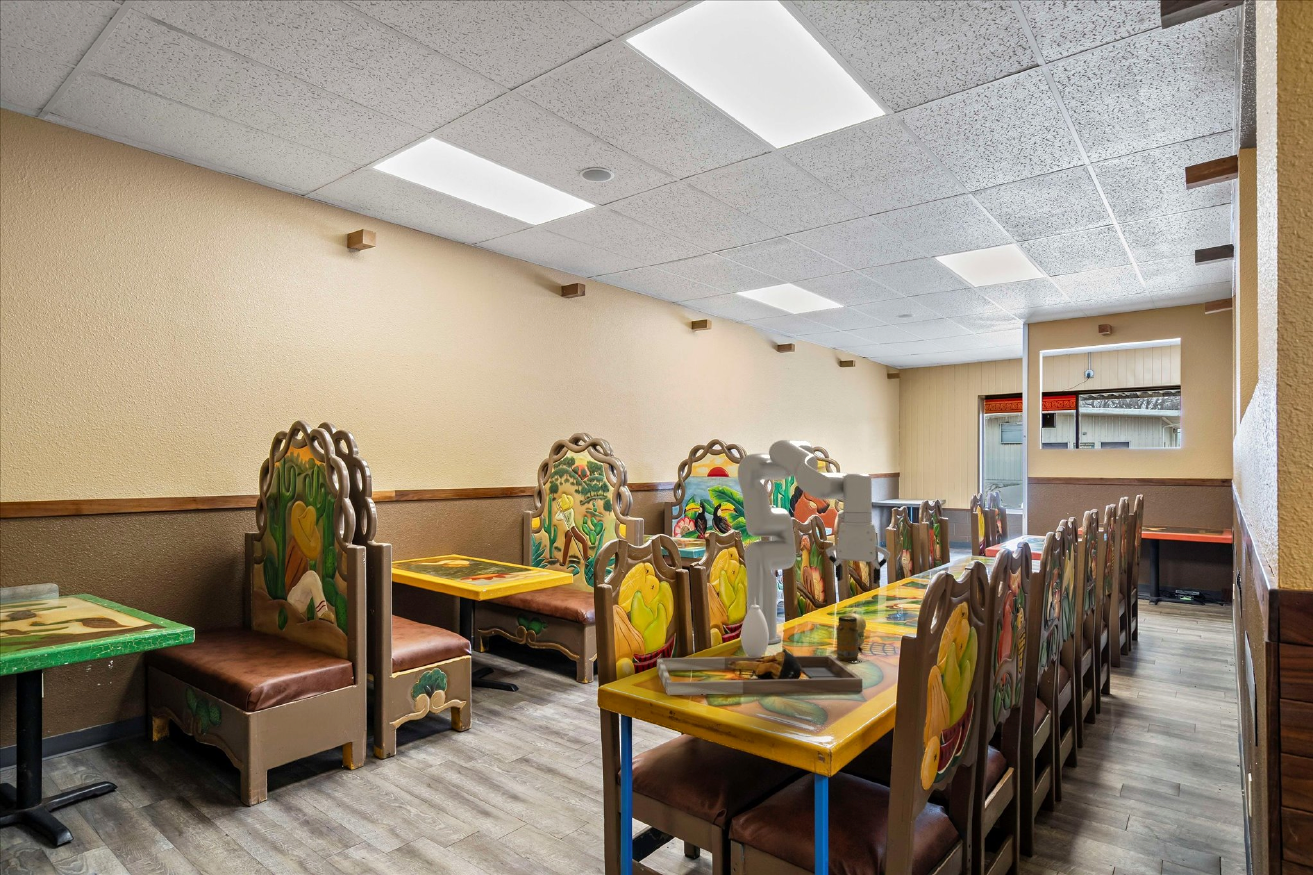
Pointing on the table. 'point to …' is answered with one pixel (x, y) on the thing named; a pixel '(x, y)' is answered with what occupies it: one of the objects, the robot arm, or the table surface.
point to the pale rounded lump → (859, 626)
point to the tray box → (815, 667)
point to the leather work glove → (772, 666)
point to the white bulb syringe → (754, 632)
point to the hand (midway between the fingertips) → (857, 581)
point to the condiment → (848, 640)
